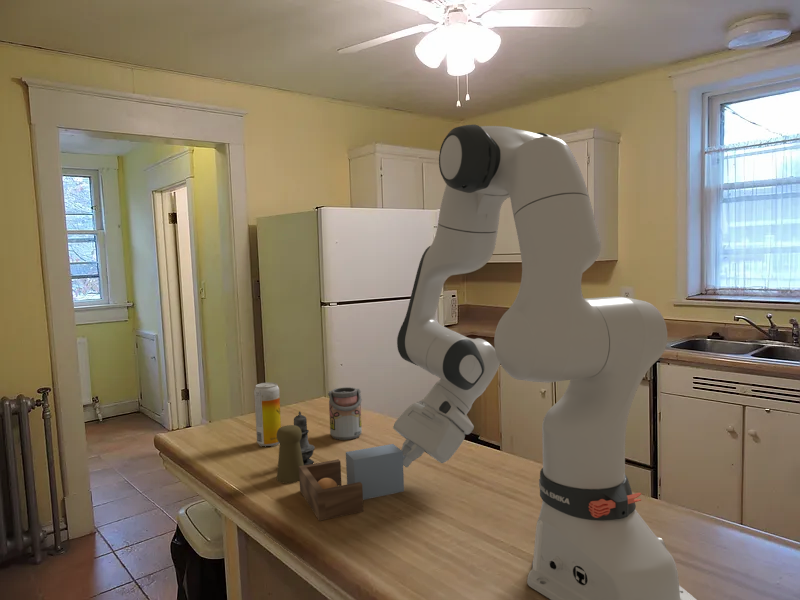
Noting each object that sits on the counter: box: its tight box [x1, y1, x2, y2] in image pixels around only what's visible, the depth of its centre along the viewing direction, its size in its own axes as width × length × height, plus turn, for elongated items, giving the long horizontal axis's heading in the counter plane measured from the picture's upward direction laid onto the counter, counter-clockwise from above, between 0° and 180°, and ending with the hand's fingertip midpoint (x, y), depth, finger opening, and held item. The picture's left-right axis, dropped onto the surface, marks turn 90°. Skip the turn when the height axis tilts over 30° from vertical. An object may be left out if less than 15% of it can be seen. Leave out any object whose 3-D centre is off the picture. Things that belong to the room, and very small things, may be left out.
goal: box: [299, 459, 364, 521], centre depth 108 cm, size 14×8×5 cm, turn 23°
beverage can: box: [327, 386, 363, 441], centre depth 146 cm, size 9×8×12 cm
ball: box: [318, 478, 337, 489], centre depth 108 cm, size 4×4×4 cm
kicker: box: [345, 443, 405, 501], centre depth 111 cm, size 5×10×8 cm, turn 113°
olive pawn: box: [276, 424, 304, 484], centre depth 120 cm, size 6×6×11 cm
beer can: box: [253, 382, 282, 448], centre depth 142 cm, size 6×6×15 cm
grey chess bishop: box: [293, 411, 315, 465], centre depth 128 cm, size 6×6×12 cm
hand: (401, 463), depth 113 cm, fingers closed, pressing on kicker
